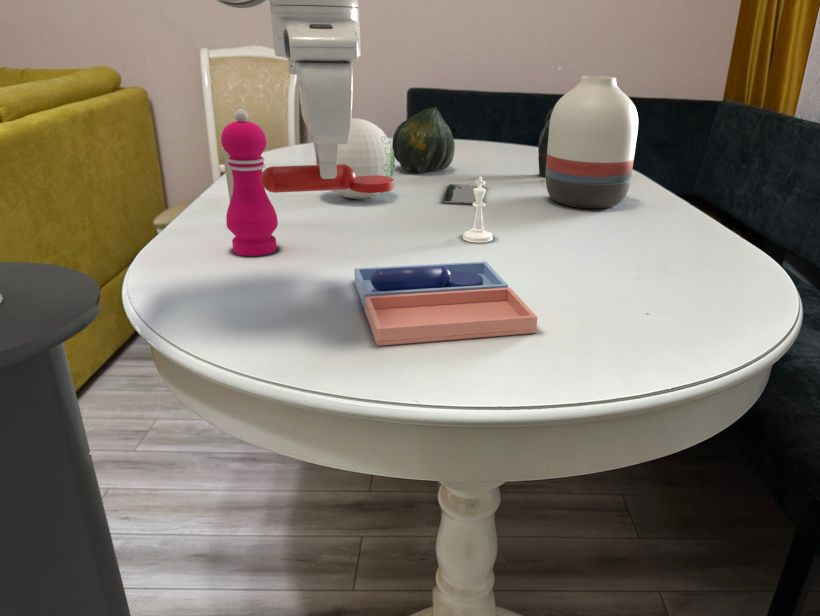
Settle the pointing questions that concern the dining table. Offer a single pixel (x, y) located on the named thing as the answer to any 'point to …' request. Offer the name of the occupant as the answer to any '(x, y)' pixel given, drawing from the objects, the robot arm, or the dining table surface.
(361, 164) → the decorative object
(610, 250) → the dining table surface
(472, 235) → the chess piece
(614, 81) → the vase
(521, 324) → the red tray
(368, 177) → the red spoon
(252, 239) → the pepper mill
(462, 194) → the smartphone
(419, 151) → the squash
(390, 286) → the blue spoon
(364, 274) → the blue tray
